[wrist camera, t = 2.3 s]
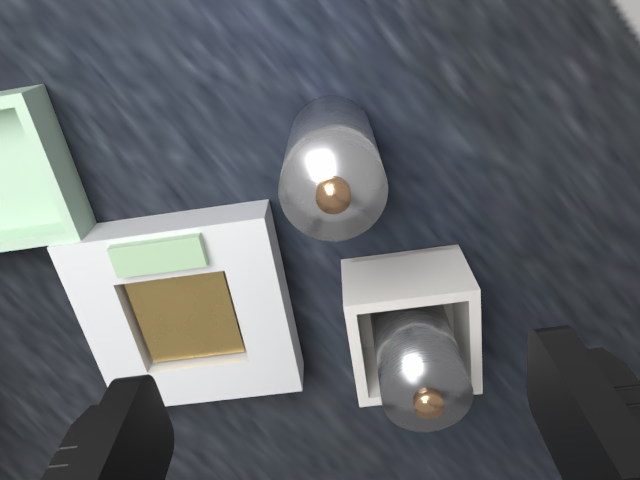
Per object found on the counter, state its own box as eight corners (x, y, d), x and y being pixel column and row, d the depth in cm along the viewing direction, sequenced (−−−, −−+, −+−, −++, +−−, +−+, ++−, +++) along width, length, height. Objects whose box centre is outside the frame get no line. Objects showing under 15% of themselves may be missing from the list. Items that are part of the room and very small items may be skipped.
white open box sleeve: (458, 244, 31) (480, 289, 27) (462, 338, 34) (482, 393, 30) (340, 259, 32) (343, 306, 27) (355, 351, 35) (359, 407, 30)
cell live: (367, 89, 27) (383, 135, 19) (376, 170, 29) (394, 240, 21) (283, 102, 27) (267, 152, 20) (297, 181, 29) (288, 254, 22)
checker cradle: (268, 198, 30) (263, 222, 27) (304, 363, 35) (302, 397, 32) (67, 227, 31) (41, 253, 28) (131, 383, 36) (114, 418, 33)
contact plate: (225, 261, 31) (222, 270, 30) (246, 341, 33) (244, 351, 32) (129, 274, 31) (123, 283, 30) (157, 352, 34) (153, 362, 33)
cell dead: (438, 270, 31) (476, 366, 24) (442, 330, 33) (477, 436, 26) (365, 279, 32) (378, 377, 24) (373, 338, 34) (387, 445, 26)
